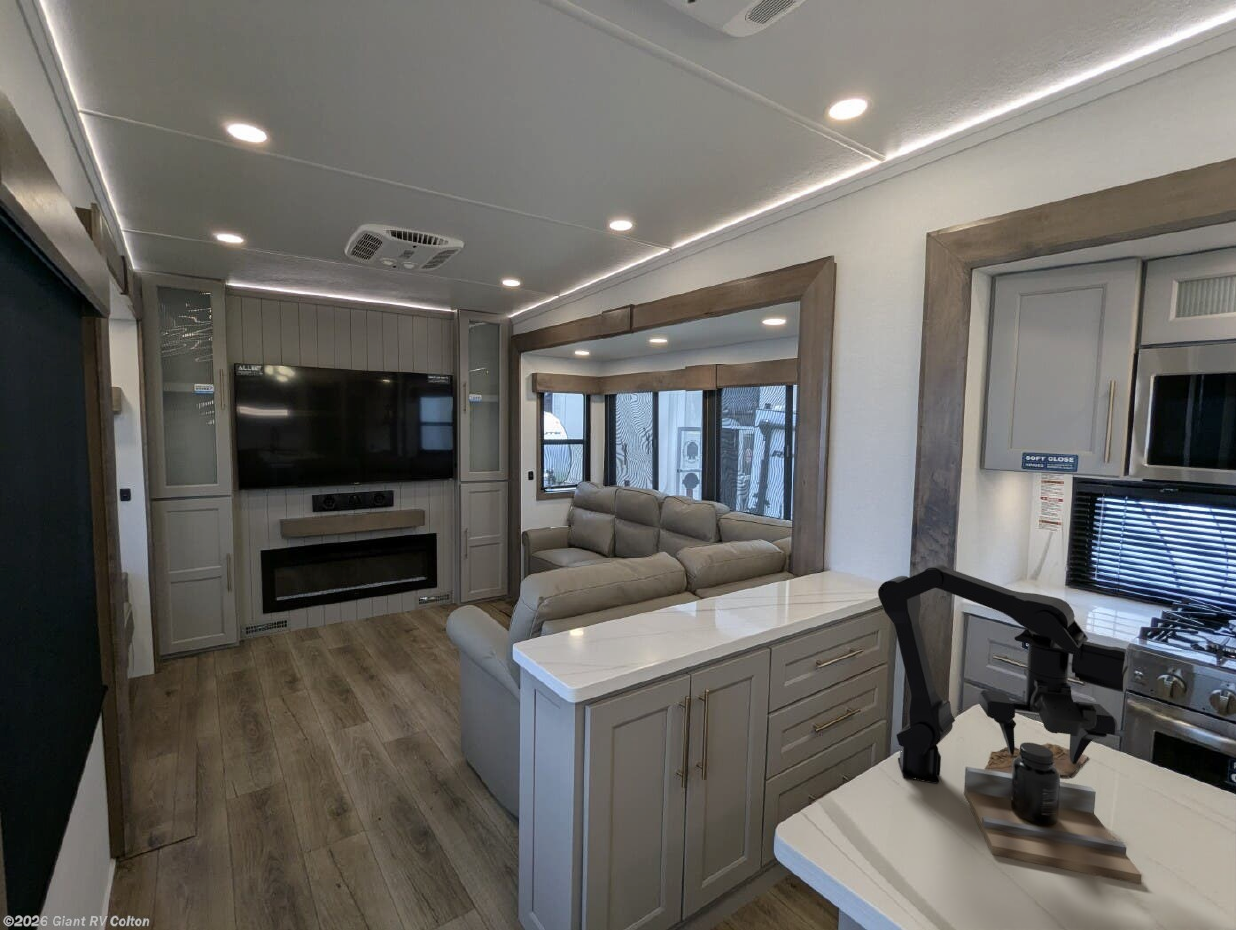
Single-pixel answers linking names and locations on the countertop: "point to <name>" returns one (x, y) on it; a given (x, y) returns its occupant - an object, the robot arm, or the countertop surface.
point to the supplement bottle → (1035, 785)
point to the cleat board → (1047, 829)
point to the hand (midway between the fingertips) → (1041, 758)
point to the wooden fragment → (1004, 759)
